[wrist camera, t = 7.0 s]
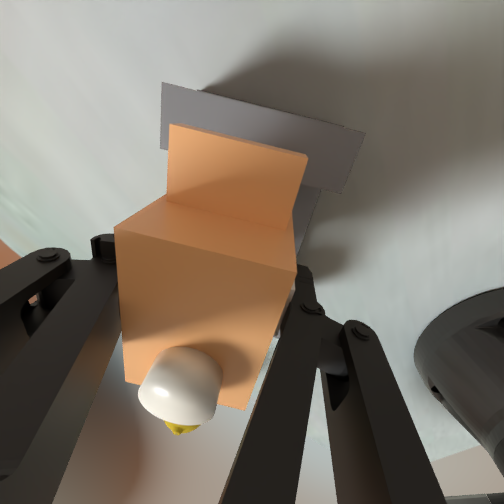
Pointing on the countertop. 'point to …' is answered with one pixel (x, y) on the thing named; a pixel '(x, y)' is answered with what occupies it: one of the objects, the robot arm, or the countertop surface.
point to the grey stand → (270, 140)
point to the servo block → (207, 273)
